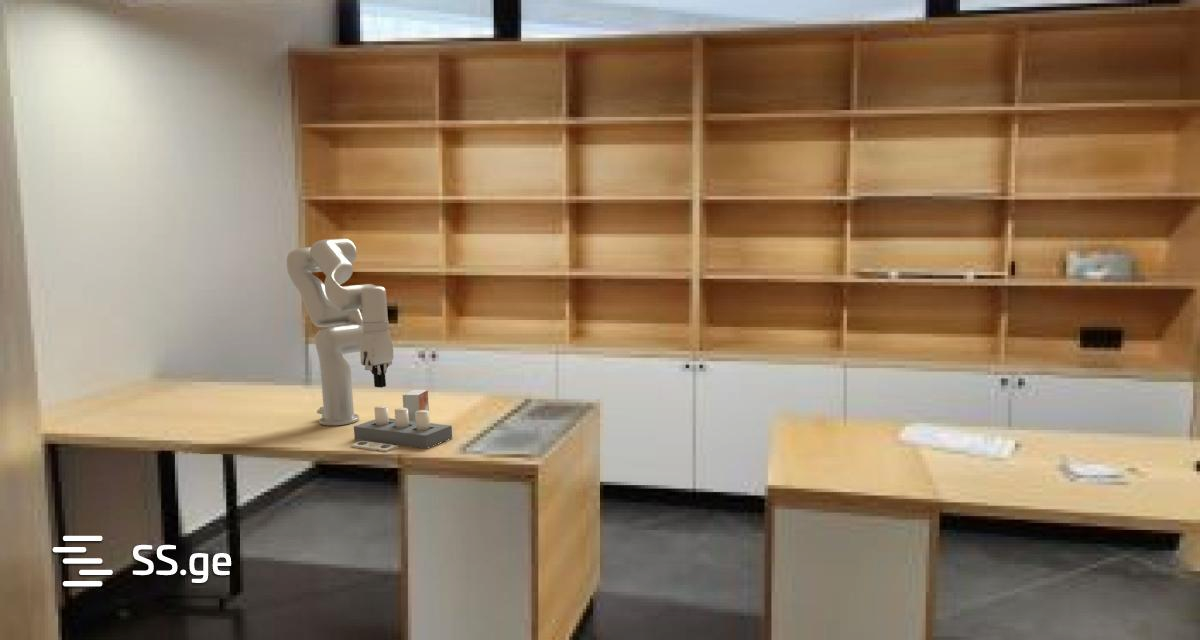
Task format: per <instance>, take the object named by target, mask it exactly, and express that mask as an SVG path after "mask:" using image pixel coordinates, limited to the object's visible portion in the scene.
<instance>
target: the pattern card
mask: <svg viewBox="0 0 1200 640" xmlns="http://www.w3.org/2000/svg"><path fill="white" fill-rule="evenodd" d="M349 446H350V448H357V449H365V450H370V451H376V450H379V451H378V452H383V451H388V452H390V451H392V450H391V449H393V450H395V449H397V447H398V448H399V445H394V444H386V443H379V442H372V441H364V440H359V441H357V442H354V443H352V444H349ZM394 448H395V449H394ZM389 450H390V451H389Z"/></svg>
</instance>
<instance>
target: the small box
mask: <svg viewBox="0 0 1200 640" xmlns="http://www.w3.org/2000/svg"><path fill="white" fill-rule="evenodd" d="M429 406H430V404H429V390H428V389H412V390H410V391H409V392H405V393H404V394H402V408H408V416H409V421H416V418H415V412H416V411H419V410H428V411H429V412H430V409H429Z"/></svg>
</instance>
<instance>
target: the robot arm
mask: <svg viewBox="0 0 1200 640" xmlns="http://www.w3.org/2000/svg"><path fill="white" fill-rule="evenodd" d="M357 250H358V249H357V247H356V245H355V244H354V242H353V241H352V240H350V239H348V238H344V237H343V238H329V239H320V240H317V241H316V242H314V243H312V245H311V246H309V247H308V246H306V247H300V248H295V249H293V250H291V251H290V252H289V253H288V254H287V256H286V269H287V273H288V276H289V279H290V280H291V282H292V283H293V285H294V287H295V288H296V289H297V291H298V292H299V294H300V296H301V298H302V300H303V304H304V306H305V308H306V312H307V314H308V316H309V319H310V321H311V322H312V324H313V325H314V326H315V327H318V328H320V329H319V330H318V331H317V332H316V334H315V336H314V344H315V349H316V352H317V356H318V361H319V362H318V363H319V369H320V377H321V380H320V381H321V393H322V403H323V404H322V405H323V406H320V407H319V408H318V409H317V410H316V414H319V415H321V418H320V419H319V424H320V425H322V426H328V427H330V426H333V427H334V426H335V427H336V426H344V425H349V424H353V423H357V422H358V421H359V420H360V416H359V414H357V413H355V408H354V398H353V397H354V396H353V383H352V382H353V380H352V369H351V368H352V367H351V366H350V364H349V363H348V361H347V360H346V359H345V358H344V356H343V355H346V354H352V353H358V352H360V353H359V355H360V364H361V365H362V366H364V370H365V371H370V372H371V374H372V375H373V383H374V384H373V385H374V387H375V388H385V387H387V385H386V384H387V382H386V374H387V371H388V370H387V369H388V367H390V366H392V364H393V359H394V347H393V340H392V335H391V331H390V329H389V325H390V322H389V317H388V304H387V300H388V299H387V290H386V287H384V286H381V285H375V284H372V283H365V284H355V285H353V284H352V285H343V286H342V284H345V283H346V282H348V281H349V280H350V278H351V276H352V275H353V272H354V267H353V266H354V265H352V264H353V263H354V262H355V261H356V259H357V257H358V256H357V255H358V251H357ZM313 273H323V274H324V275H325V280H324V282H323V281H322V280H321V279H320V278H319V277H317V276H315V275H314V274H313Z"/></svg>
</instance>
